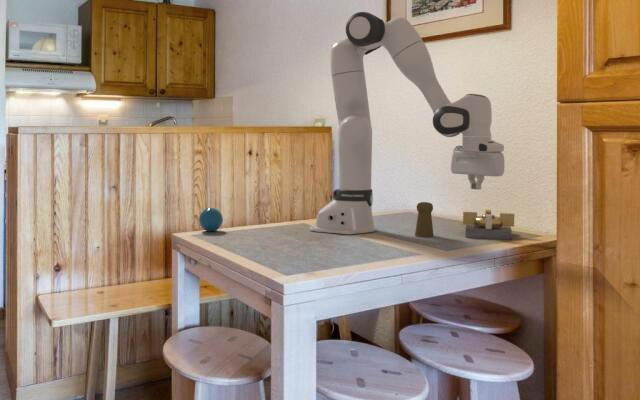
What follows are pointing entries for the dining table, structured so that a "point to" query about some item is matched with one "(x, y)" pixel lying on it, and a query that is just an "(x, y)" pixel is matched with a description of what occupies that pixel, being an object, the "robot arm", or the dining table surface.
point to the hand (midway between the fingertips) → (475, 189)
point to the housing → (488, 232)
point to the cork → (424, 220)
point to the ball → (210, 219)
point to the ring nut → (488, 219)
